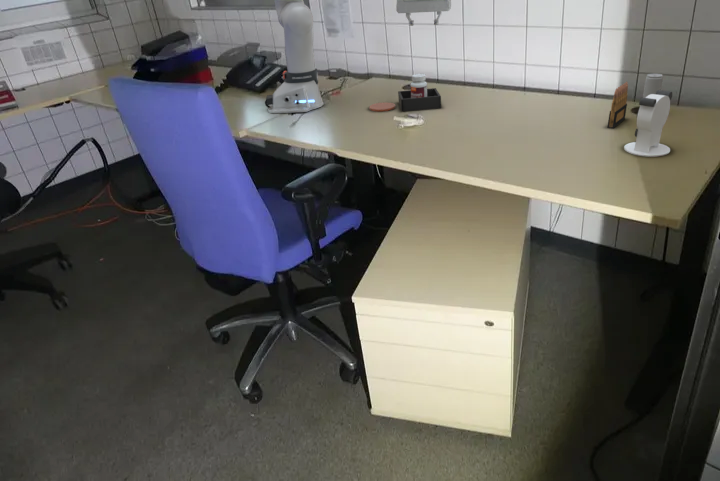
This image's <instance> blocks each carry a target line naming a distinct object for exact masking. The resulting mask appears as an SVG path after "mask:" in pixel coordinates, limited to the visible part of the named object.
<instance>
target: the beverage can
mask: <svg viewBox="0 0 720 481" xmlns="http://www.w3.org/2000/svg"><path fill="white" fill-rule="evenodd" d="M663 76H664V75H663V74H661V73H647V74H646V77H645V81H644V89H643V93H642V97H643V98H646V97H647V96H648V95H650V94H656V92H657V90H662V86H663V80H664V77H663Z"/></svg>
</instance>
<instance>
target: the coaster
mask: <svg viewBox="0 0 720 481" xmlns="http://www.w3.org/2000/svg"><path fill="white" fill-rule="evenodd" d="M368 108H369V111H371V112H375V113H376V112H377V113H379V112H381V113H382V112H389V111H391V110H392V111H393V110H395V109H396V104H395V103H393V102H386V101H385V102H383V101H382V102H376V103H372V104H370V105H369V107H368Z"/></svg>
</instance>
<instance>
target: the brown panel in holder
mask: <svg viewBox="0 0 720 481" xmlns="http://www.w3.org/2000/svg"><path fill="white" fill-rule="evenodd" d="M628 90H629V83H628V81H625V82H624V83H622V84H621V85H619V86H618V87H617V88H616V89H615V90H614V93H613V97H612V102H611V106H610V110H609V113H608V121H607V129H615V128H616V127H617V126H619V124H621V123H622V122H623V121H625V120H626V115H627V114H626V113H627V107H628V102H627V101H628Z"/></svg>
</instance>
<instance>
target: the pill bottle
mask: <svg viewBox="0 0 720 481" xmlns="http://www.w3.org/2000/svg"><path fill="white" fill-rule="evenodd" d="M426 80H427V78H426V74H425V73H415V74H412V75H411V81H412V82H411V83H410V90H411V98H419V97H427V89H428V83H427V81H426Z"/></svg>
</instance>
